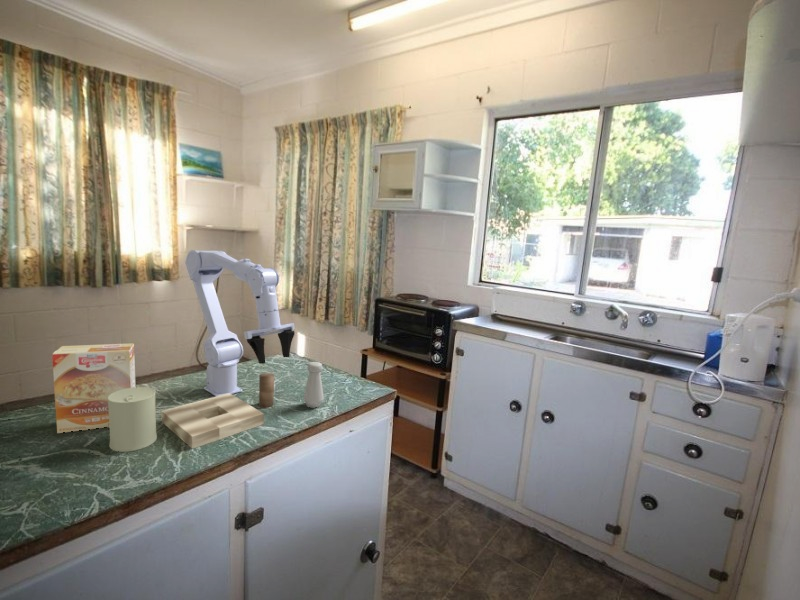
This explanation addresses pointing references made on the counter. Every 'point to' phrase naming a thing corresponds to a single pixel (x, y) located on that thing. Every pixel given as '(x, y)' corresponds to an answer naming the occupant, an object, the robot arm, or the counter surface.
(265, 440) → the counter surface
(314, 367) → the salt shaker
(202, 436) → the socket block
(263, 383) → the peg
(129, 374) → the coffeecake box
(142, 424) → the can
